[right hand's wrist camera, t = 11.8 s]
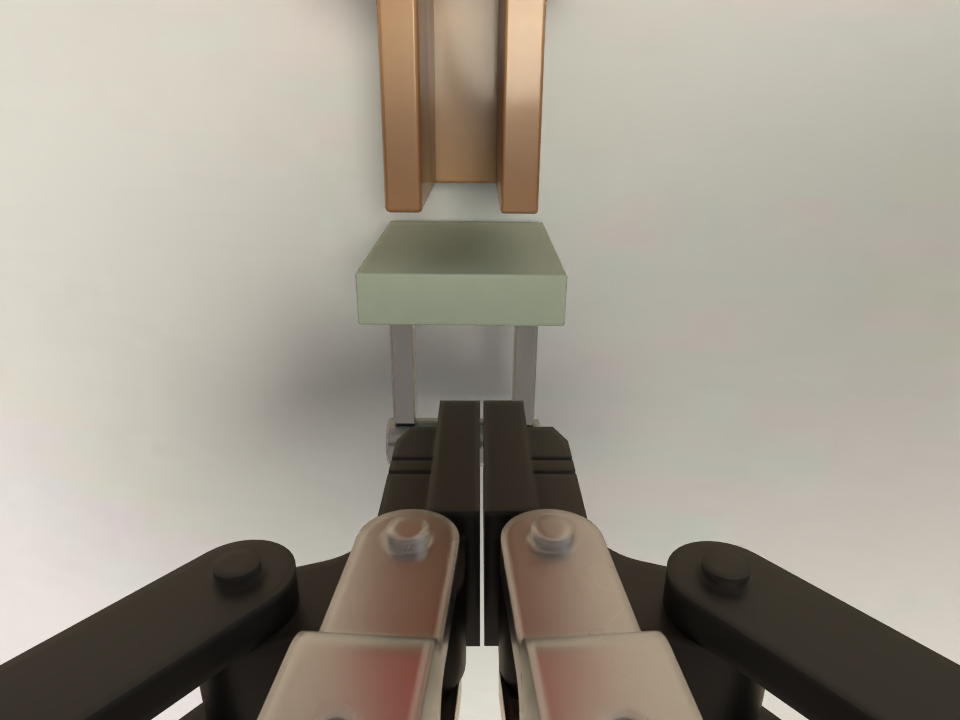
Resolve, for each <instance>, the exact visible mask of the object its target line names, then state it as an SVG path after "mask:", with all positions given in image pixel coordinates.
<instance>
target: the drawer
mask: <svg viewBox="0 0 960 720" xmlns="http://www.w3.org/2000/svg"><path fill="white" fill-rule="evenodd" d="M545 18H546V0H377V19H378V43H379V67H380V91H381V114H382V138H383V162H384V186H385V208H386V210H387V211H388V212H420V211H421V210H422V208H423V206H424V204H425V202H426V200H427V198H428V196H429V194H430V192H431V190H432V188H433V185H434V183H435V182H442V183H496V185H497V190H498V196H499V202H500V208H501V212H502V213H520V214H535V213H537V211H538V194H539V169H540V143H541V118H542V93H543V68H544V43H545ZM566 289H567V275H566V273H565V271H564V268H563V266H562V264H561V262H560V260H559V258H558V255H557V253H556V251H555V249H554V247H553V245H552V242H551V240H550V238H549V236H548V234H547V232H546V230H545V227H544V225H543V223H541V222H429V221H391V222H390V224H389V225H388V227H387V228H386V230H385V231H384V233H383V234H382V236H381V237H380V239H379V240H378V241H377V243H376V244H375V246H374V247H373V249H372V250H371V252H370V253H369V255H368V256H367V258H366V259H365V261H364V262H363V264H362V265H361V267H360V268H359V270H358V271H357V273H356V290H357V307H358V322H359V324H390V341H391V364H392V388H393V411H394V418H390V419H389V421H388V425H387V434H386V455H387V461H388V464H390V463H391V460H392V455H393V451H394V447H395V442H396V440H397V439H399V438H400V437H401V436H402V435H403V434H404V433H405V432H406V431H407V430H408V429H409V428H410V427H437V422H438V418H416V416H417V403H416V368H415V333H414V325H514V344H513V378H512V401H523V403H524V410H525V417H526V424H527V427H540V422H539V420H538V419H534V403H535V380H536V356H537V332H538V326H563V325H564V324H565V306H566ZM480 466H483V418H480Z"/></svg>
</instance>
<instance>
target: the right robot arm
mask: <svg viewBox="0 0 960 720" xmlns="http://www.w3.org/2000/svg"><path fill="white" fill-rule="evenodd" d="M483 528H484V646H498V647H499V701H500V709H501V717H502V720H781V719H780V718H778V717H777V716H775V715H774V714H773V713H771V712H770V711H768V710H767V709H766V708H764V707H763V706H762V701H763V696H764V691H765V689H766V690H767V691H769V692H770V693H771V694H773V695H774V696H776V697H777V698H779V699H780V700H781V701H783V702H784V703H786V704H787V705H789V706H790V707H792V708H793V709H794V710H796V711H797V712H799V713H800V714H802V715H803V716H804V717H806V718H807V719H809V720H960V665H958V664H957V663H955V662H953V661H951V660H949V659H947V658H946V657H944V656H942V655H940V654H938V653H936V652H935V651H933V650H931V649H929V648H927V647H925V646H924V645H922V644H920V643H918V642H916V641H914V640H913V639H911V638H909V637H907V636H905V635H903V634H902V633H900V632H898V631H896V630H894V629H892V628H891V627H889V626H887V625H885V624H883V623H881V622H880V621H878V620H876V619H874V618H872V617H870V616H869V615H867V614H865V613H863V612H861V611H859V610H858V609H856V608H854V607H852V606H850V605H848V604H847V603H845V602H843V601H841V600H839V599H837V598H836V597H834V596H832V595H830V594H828V593H827V592H825V591H823V590H821V589H819V588H817V587H816V586H814V585H812V584H810V583H808V582H806V581H805V580H803V579H801V578H799V577H797V576H795V575H794V574H792V573H790V572H788V571H786V570H784V569H783V568H781V567H779V566H777V565H775V564H773V563H772V562H770V561H768V560H766V559H764V558H762V557H761V556H759V555H757V554H755V553H753V552H751V551H749V550H747V549H744V548H741V547H739V546H736V545H732V544H728V543H722V542H714V541H700V542H693V543H689V544H686V545H683V546H681V547H679V548H678V549H676V550H675V551H674V552H673V553H672V554H671V555H670V557H669V559H668V562H667V567H666V566H662V565H657V564H652V563H648V562H643V561H639V560H635V559H631V558H628V557H626V556H623V555H621V554H619V553H616V552H614V551H613V550H611V549H609V548H608V547H607V545H606V543H605V540H604V538H603V535H602V533H601V532H600V530H599V529H598V528H597V527H596V526H595V525H594V524H593V523H592V522H591V521H589V520H587V516H586V512H585V508H584V504H583V500H582V496H581V492H580V488H579V484H578V480H577V476H576V474H575V468H574V464H573V460H572V456H571V452H570V448H569V444H568V441H567V440H566V439H565V438H564V437H563V436H562V435H561V434H560V433H559V432H558V431H557V430H555V429H554V428H553V427H527V424H526V417H525V410H524V403H523V401H484V402H483ZM466 646H480V401H440V407H439V415H438V422H437V427H410V428H409V429H408V430H407V431H406V432H405V433H404V434H403V435H402V436H401V437H400V438H399V439H397V440H396V442H395V447H394V451H393V455H392V460H391V463H390V467H389V474H388V476H387V480H386V484H385V488H384V492H383V497H382V501H381V505H380V509H379V513H378V517H376V518H374V519H373V520H371V521H369V522H368V523H367V524H366V525H365V526H364V527H363V528H362V529H361V530H360V532H359V533H358V535H357V538H356V540H355V543H354V545H353V548H352V550H351V552H349V553H347V554H345V555H342V556H340V557H337V558H334V559H331V560H327V561H323V562H318V563H314V564H309V565H304V566H300V567H296V564H295V559H294V557H293V555H292V553H291V552H290V551H289V550H288V549H287V548H285V547H284V546H282V545H280V544H278V543H275V542H271V541H265V540H244V541H238V542H233V543H229V544H226V545H223V546H220V547H217V548H215V549H213V550H211V551H209V552H207V553H205V554H203V555H201V556H199V557H198V558H196V559H194V560H192V561H190V562H188V563H187V564H185V565H183V566H181V567H179V568H177V569H176V570H174V571H172V572H170V573H168V574H166V575H165V576H163V577H161V578H159V579H157V580H155V581H154V582H152V583H150V584H148V585H146V586H144V587H143V588H141V589H139V590H137V591H135V592H134V593H132V594H130V595H128V596H126V597H124V598H123V599H121V600H119V601H117V602H115V603H113V604H112V605H110V606H108V607H106V608H104V609H102V610H101V611H99V612H97V613H95V614H93V615H91V616H90V617H88V618H86V619H84V620H82V621H80V622H79V623H77V624H75V625H73V626H71V627H69V628H68V629H66V630H64V631H62V632H60V633H58V634H57V635H55V636H53V637H51V638H49V639H47V640H46V641H44V642H42V643H40V644H38V645H36V646H35V647H33V648H31V649H29V650H27V651H25V652H24V653H22V654H20V655H18V656H16V657H15V658H13V659H11V660H9V661H7V662H5V663H4V664H2V665H0V720H151V719H153V718H154V717H156V716H157V715H158V714H160V713H161V712H163V711H164V710H166V709H167V708H168V707H170V706H171V705H173V704H174V703H176V702H177V701H179V700H180V699H181V698H183V697H184V696H186V695H187V694H189V693H190V692H191V691H193V690H194V689H196V688H197V687H199V686H200V690H201V695H202V700H203V703H201V704H200V705H199V706H197V707H196V708H194V709H193V710H192V711H190V712H189V713H187V714H186V715H185V716H183V717H182V718H181V719H179V720H458V717H459V709H460V701H461V678H462V676H463V673H464V671H465V665H466Z"/></svg>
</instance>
